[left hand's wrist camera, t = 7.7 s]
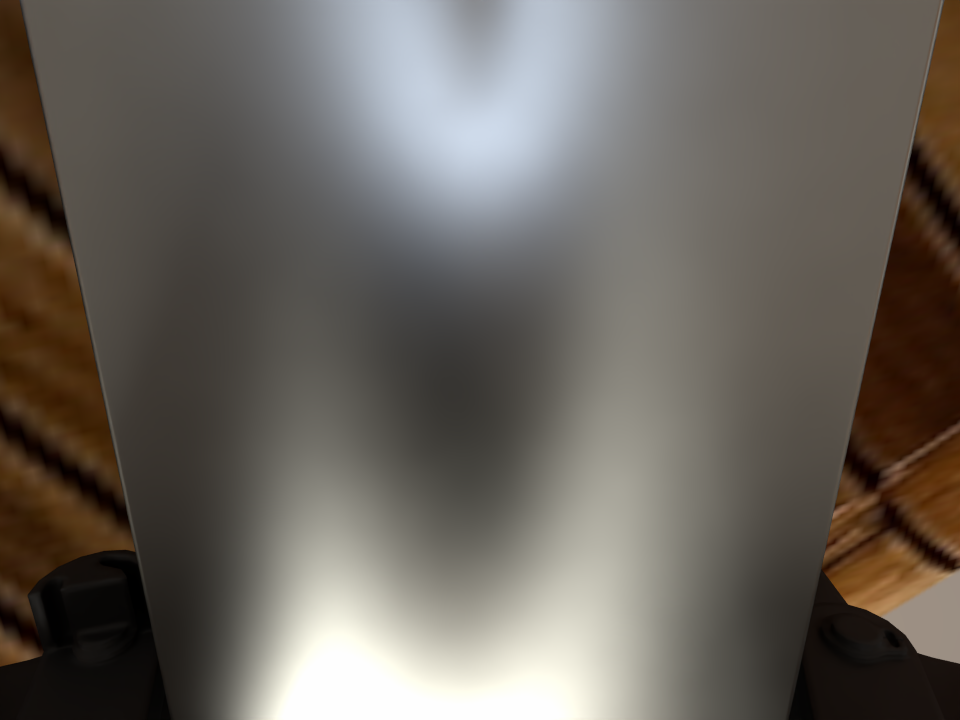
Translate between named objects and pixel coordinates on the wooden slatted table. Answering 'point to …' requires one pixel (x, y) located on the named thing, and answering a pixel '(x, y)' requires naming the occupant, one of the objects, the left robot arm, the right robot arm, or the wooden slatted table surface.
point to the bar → (480, 336)
